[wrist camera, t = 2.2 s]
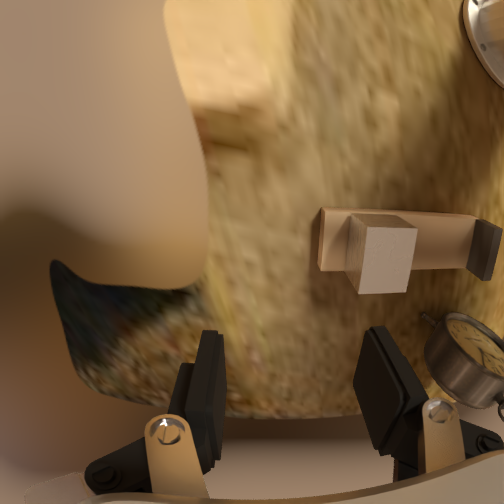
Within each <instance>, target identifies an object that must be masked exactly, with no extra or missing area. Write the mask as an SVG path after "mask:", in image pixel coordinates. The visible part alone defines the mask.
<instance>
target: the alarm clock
mask: <svg viewBox="0 0 504 504" xmlns="http://www.w3.org/2000/svg"><path fill="white" fill-rule="evenodd" d="M421 317H422V318H425V319H426V320H427V321H428V323H430V324H431V325H432V326H433V327H435V330H434V332H433V333H432V335H431V336H430V338H429V339H428V341H427V342H426V344H425V347H424V358H425V362H426V365H427V368H428V370H429V372H430V374H431V376H432V377H433V379H434V380H435V381H436V383H437V384H438V385H439V386H440V387H441V388H442V389H443V391H444V392H446V393H447V394H448V395H449V396H450V397H452V398H453V399H454V400H456V401H457V402H459V403H461V404H463V405H465V406H468V407H470V408H475V409H486V408H490V407H492V406H494V405H495V404H496V403H498V404H499V406H498V414H499V416H500V418H501V419H502V421H503V422H504V417H503V415H502V413H501V409H504V396H503V395H504V342H503V340H502V339H501V338H500V337H499V336H498V335H496V334H495V333H494V332H493V331H492V330H491V329H489V328H488V327H487V326H485V325H484V324H482V323H480V322H479V321H477V320H475V319H473V318H472V317H470V316H467V315H465V314H462V313H457V312H449V313H446V314H444V315H443V316H442V319H441V321H440V322H438V321H436V320H435V319H433V318H431V317H429V316H427V315H426V313H425V312H422V313H421Z"/></svg>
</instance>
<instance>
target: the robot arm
mask: <svg viewBox="0 0 504 504" xmlns="http://www.w3.org/2000/svg"><path fill="white" fill-rule="evenodd" d="M463 18H464V24H465V28H466V31H467V35H468V38H469V40H470V43H471V45H472V47H473V49H474V51H475V53H476V55H477V57H478V59H479V60H480V62H481V64H482V65H483V67H484V68H485V70H486V71H487V72H488V74H489V75H490V76H491V78H492V79H493V80H494V81H495V82H496V83H497V84H498V85H499V86H501V87H502V88H503V89H504V0H464V5H463ZM353 387H354V390H355V393H356V396H357V399H358V402H359V405H360V408H361V411H362V413H363V416H364V419H365V423H366V425H367V429H368V432H369V435H370V438H371V441H372V444H373V447H374V449H375V450H378V451H379V454H380V456H384V455H389V454H391V457H393V458H394V469H393V483H390V484H385V485H381V486H376V487H372V488H366V489H361V490H356V491H350V492H344V493H337V494H330V495H323V496H313V497H303V498H289V499H268V500H231V499H210V497H209V494H208V491H207V488H206V484H205V481H204V478H203V475H204V474H206V473H207V472H209V471H210V470H211V468H214V465H215V460H220V459H221V449H222V437H223V426H224V415H225V403H226V392H227V383H226V369H225V355H224V339H223V334H218V331H216V330H203V331H202V335H201V339H200V344H199V348H198V352H197V356H196V361H195V363H182V364H181V366H180V369H179V373H178V376H177V380H176V384H175V387H174V391H173V395H172V398H171V402H170V406H169V410H168V414H164V415H160V416H157V417H155V418H153V419H152V420H150V421H149V422H148V423H147V425H146V427H145V437H143V438H141V439H139V440H137V441H135V442H133V443H131V444H129V445H127V446H125V447H123V448H121V449H119V450H117V451H115V452H112V453H110V454H108V455H106V456H104V457H102V458H99V459H97V460H95V461H94V462H92V463H90V464H89V466H88V467H87V468H86V471H85V472H84V473H81V474H78V473H77V472H75V473H72V474H69V475H66V476H62V477H59V478H56V479H53V480H50V481H46V482H43V483H40V484H36V485H33V486H31V487H30V488H29V489H28V490H27V491H26V493H25V496H24V497H25V504H504V443H503V441H502V439H501V437H500V436H499V435H498V434H497V433H494V432H493V431H490V430H487V429H484V428H482V427H479V426H476V425H474V424H471V423H469V422H466V421H463V420H461V419H459V416H458V411H457V409H456V407H455V406H454V404H453V403H452V402H450V401H449V400H447V399H444V398H439V397H438V398H432V399H429V397H428V395H427V393H426V392H425V390H424V388H423V386H422V384H421V383H420V381H419V379H418V377H417V376H416V374H415V372H414V370H413V369H412V367H411V365H410V364H409V362H408V360H407V359H406V357H405V356H403V355H402V353H401V352H400V350H399V348H398V347H397V345H396V343H395V342H394V340H393V338H392V337H391V335H390V333H389V332H388V330H387V328H386V327H385V326H374V327H370V329H369V330H368V331H366V332H365V335H364V339H363V344H362V348H361V352H360V356H359V360H358V364H357V368H356V371H355V375H354V379H353Z"/></svg>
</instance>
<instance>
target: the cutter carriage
mask: <svg viewBox="0 0 504 504" xmlns="http://www.w3.org/2000/svg"><path fill="white" fill-rule="evenodd" d="M417 230H418V228H416V227H415V226H413V225H411V224H410V223H408V222H407V221H405V220H404V219H402V218H400V217H399V216H397V215H387V214H362V213H351V219H350V230H349V240H348V249H347V258H346V267H345V274H346V275H347V277H348V278H349V280H350V282H351V283H352V285H353V286H354V288H355V290H356V291H357V293H358V294H377V293H399V292H406V289H407V285H408V280H409V275H410V270H411V265H412V260H413V255H414V249H415V243H416V237H417Z"/></svg>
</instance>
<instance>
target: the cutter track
mask: <svg viewBox="0 0 504 504" xmlns="http://www.w3.org/2000/svg"><path fill="white" fill-rule="evenodd" d="M351 213H362V214H387V215H397V216H399V217H400V218H402V219H404V220H405V221H407V222H408V223H410V224H411V225H413V226H415V227H416V228H418V230H417V237H416V243H415V249H414V255H413V260H412V265H411V270H417V269H452V268H466V269H468V270H469V271H470V272H472V273H473V274H474V275H476V276H477V277H478V278H479V279H481V280H482V281H489V280H491V277H492V274H493V270H494V266H495V262H496V258H497V254H498V249H499V245H500V240H501V236H502V230H503V229H502V228H500V227H498V226H496V225H494V224H492V223H490V222H488V221H486V220H482V219H478V218H476V217H474V216H472V215H463V214H450V213H436V212H421V211H404V210H384V209H361V208H331V207H321V221H320V236H319V250H318V262H317V264H318V266H319V269H320V271H345V267H346V258H347V249H348V240H349V230H350V219H351Z"/></svg>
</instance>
